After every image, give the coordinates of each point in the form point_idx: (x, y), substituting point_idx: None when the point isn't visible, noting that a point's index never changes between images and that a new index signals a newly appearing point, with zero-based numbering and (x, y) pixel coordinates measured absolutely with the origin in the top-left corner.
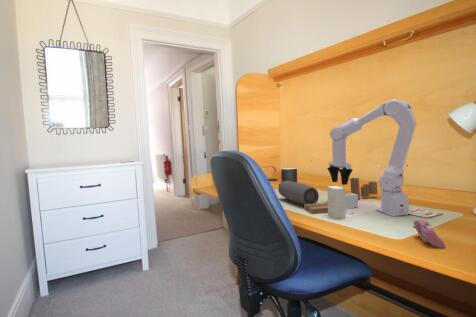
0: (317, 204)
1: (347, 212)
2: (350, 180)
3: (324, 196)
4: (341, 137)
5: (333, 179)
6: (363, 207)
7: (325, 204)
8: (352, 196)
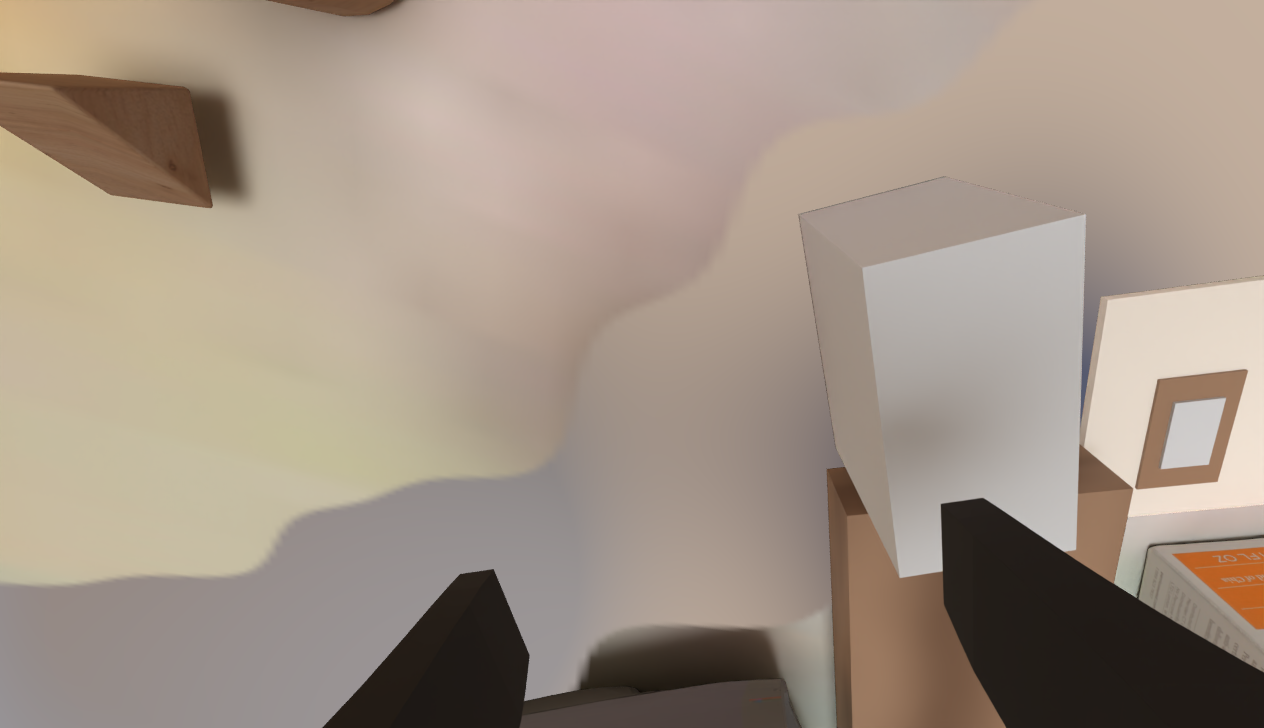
0: (900, 705)
1: (1149, 430)
2: None
3: (167, 381)
4: None
5: (504, 722)
6: (951, 70)
7: (935, 640)
8: (1064, 334)
